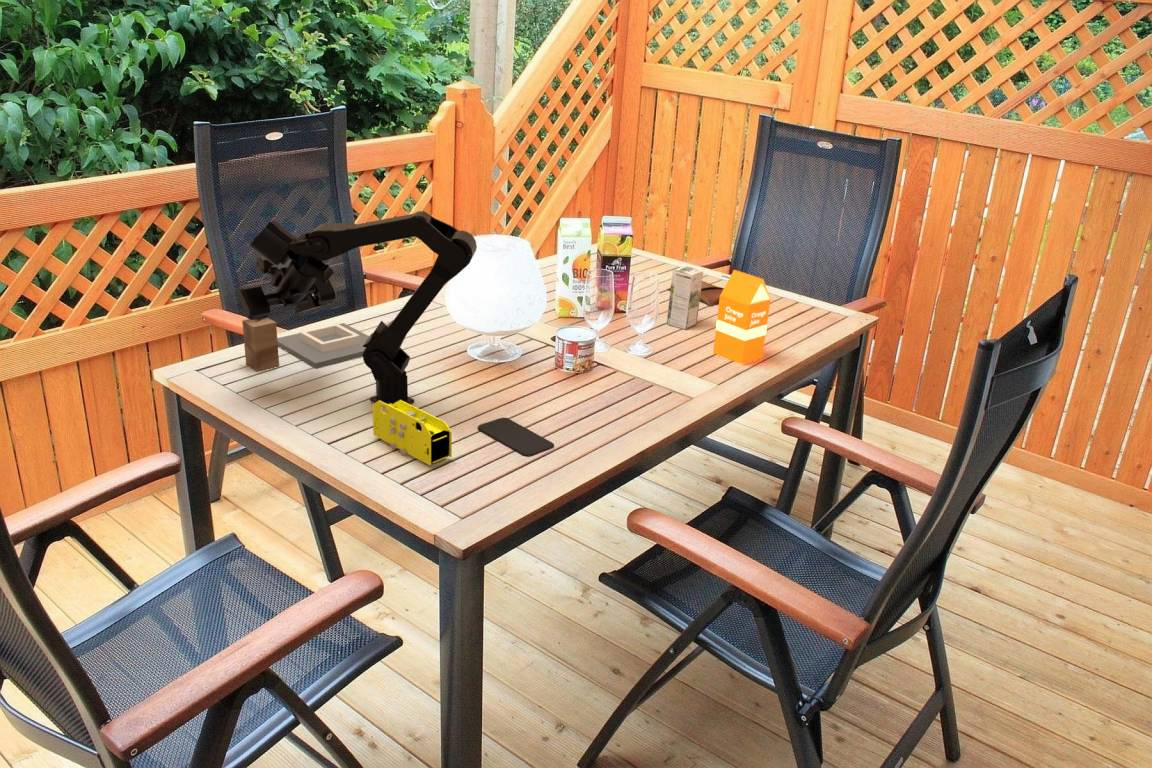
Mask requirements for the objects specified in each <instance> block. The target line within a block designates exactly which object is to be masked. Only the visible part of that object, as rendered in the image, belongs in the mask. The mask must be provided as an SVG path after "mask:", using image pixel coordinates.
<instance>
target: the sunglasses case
mask: <svg viewBox="0 0 1152 768" xmlns="http://www.w3.org/2000/svg"><path fill="white" fill-rule="evenodd" d="M724 288H725V287H720V286H716V285H714V284H712V283H709V282H707V281H703V280H702V286H701V294H700V302H699V303H702V304H705V305H706V306H708V307H714V306H719V300H720V295H721V293H722V291H723V290H724ZM666 291H668V292H670V291H671V286H670V287H669V288H667V289H666Z"/></svg>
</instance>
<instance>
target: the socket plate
mask: <svg viewBox="0 0 1152 768" xmlns="http://www.w3.org/2000/svg"><path fill="white" fill-rule="evenodd" d="M369 336H370V335H368V334H366V333H364V332H362V331H360V330H358V329H356V328H354V327H352V326H350V325H348V324H346V323H344V322H342V323H339V324H338V323H334V324H330V325H325V326H321V327H317V328H311V329H307V330H303V331H300V332H298V333H294V334H290V335H289V334H288V335H285V336H280V337H277V342H278V346H279V347H278V348H280V347H281V348H280V349H282V350H284V351H285V350H286V351H285V352H287V351H288V352H287V353H289V354H290V353H291V354H290V355H292V354H293V355H292V356H294V357H295V356H296V358H297V359H299V360H301V361H302V360H303V361H302V362H304V363H305V364H307V363H308V364H307V365H308V366H309V365H310V366H311V367H312V368H314V369H319V368H324V367H327V366H330V365H335V364H338V363H342V362H346V361H350V360H354V359H358V358H363V352H364V350H365V348H366V347H363V345H364V344H365V342H366V341H367V339H368V338H369Z"/></svg>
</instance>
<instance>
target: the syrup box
mask: <svg viewBox="0 0 1152 768" xmlns="http://www.w3.org/2000/svg"><path fill="white" fill-rule="evenodd" d="M671 275H672V276H671V284H670V287H671V291H669V302H668V307H667V308H668V310H667V317H666V318H667V319H666V325H668V326H671V327H675V328H678V329H683V330H688V329H690V328H692V327H694V326H696V325H697V323H698V317H699V309H700V308H699V307H700V303H701V302H700V294H701V286H702V281H703V278H704V277H703V276H704V271H703V270H701V269H698V268H696V267H692V266H686V265H685V266H681V267H679V268H677V269H674V270H672V274H671Z"/></svg>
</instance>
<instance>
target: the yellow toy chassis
mask: <svg viewBox="0 0 1152 768" xmlns="http://www.w3.org/2000/svg"><path fill="white" fill-rule="evenodd" d="M381 405H382V407H381ZM372 426H373V427H372V429H373V430H372V431H373V433H372V434H373V436H374V437H376V438H378V439H380V440H382V441H384V442H385V443H386V444H389V445H390V448H391V450H393V451H394V450H396V449H399V450H400V454H401V455H402V456H404V455H406V454H408V455H410V456H412V457H413V458H415V459H417V460H419V462H421V463H424V464H426V465H428V466H432V464H437V463H440V462H441V461H445V460H446V459H447V458H448V457H450V458H452V455H453V454H452V451H453V450H452V447H453V444H452V442H453V440H452V439H453V435H452V434H453V432H452V430H451V428H450V427H449V426H448V424H447V423H446V421H444V420H442V419H440V418H438V417H436V416H434V415H433V414H430V413H428V412H427V411H424V410H422V409H420V408H418V407H416V406H414V405H412V404H408V403H406V402H404V401H402V400H399V401H397V402H395V403H393V404H386V403H384V402H382V401H380V400H379V401H377V402H376V403H373V404H372Z"/></svg>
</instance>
